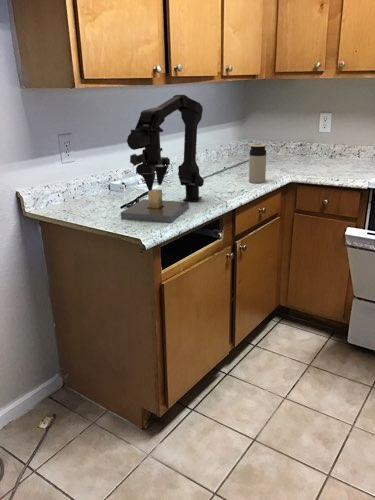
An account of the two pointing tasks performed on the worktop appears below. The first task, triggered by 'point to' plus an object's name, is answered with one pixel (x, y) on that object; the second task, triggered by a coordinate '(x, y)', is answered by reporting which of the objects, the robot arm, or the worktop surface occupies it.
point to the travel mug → (257, 163)
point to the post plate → (155, 211)
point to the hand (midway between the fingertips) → (155, 187)
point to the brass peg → (155, 199)
